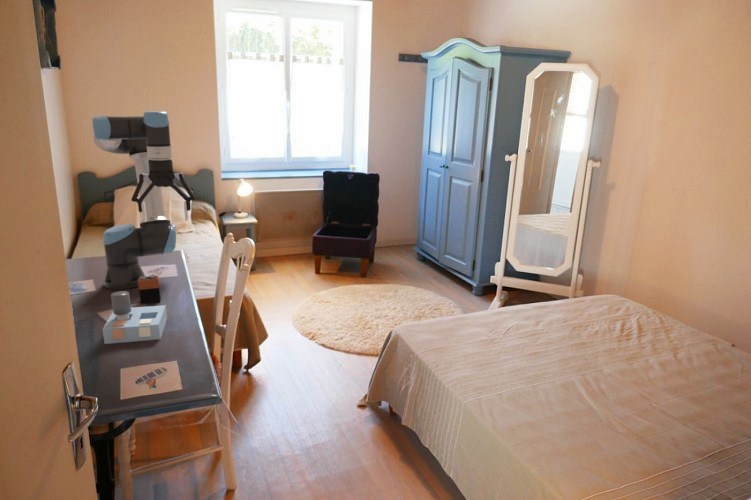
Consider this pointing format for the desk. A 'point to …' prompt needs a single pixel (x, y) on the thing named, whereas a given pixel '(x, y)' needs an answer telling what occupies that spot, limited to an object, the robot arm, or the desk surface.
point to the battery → (149, 289)
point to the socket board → (136, 325)
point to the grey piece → (121, 305)
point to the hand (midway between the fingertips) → (166, 220)
